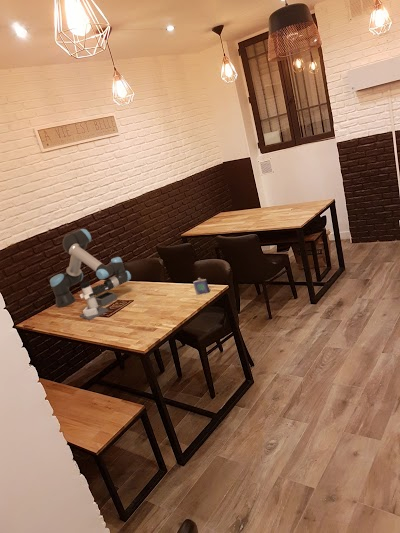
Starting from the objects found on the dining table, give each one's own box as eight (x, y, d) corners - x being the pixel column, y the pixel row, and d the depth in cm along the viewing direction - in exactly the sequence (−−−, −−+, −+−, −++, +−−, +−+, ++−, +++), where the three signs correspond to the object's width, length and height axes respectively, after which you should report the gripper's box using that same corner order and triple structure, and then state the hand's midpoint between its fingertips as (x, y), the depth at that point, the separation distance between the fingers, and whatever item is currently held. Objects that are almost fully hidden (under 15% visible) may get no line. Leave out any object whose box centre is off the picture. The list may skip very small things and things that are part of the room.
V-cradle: (79, 316, 286) (77, 310, 284) (98, 307, 294) (95, 301, 293) (89, 320, 273) (86, 313, 272) (108, 310, 282) (106, 303, 281)
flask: (196, 294, 265) (191, 279, 262) (197, 293, 268) (192, 278, 265) (209, 292, 263) (205, 277, 260) (210, 291, 265) (206, 276, 262)
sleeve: (95, 304, 304) (93, 298, 302) (109, 297, 311) (107, 291, 309) (103, 306, 294) (100, 300, 293) (117, 298, 301) (115, 292, 300)
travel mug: (100, 305, 286) (90, 279, 281) (96, 309, 280) (86, 282, 275) (91, 307, 287) (82, 281, 282) (88, 311, 281) (78, 284, 276)
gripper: (119, 289, 285) (90, 303, 271) (106, 286, 299) (78, 300, 286) (115, 279, 282) (86, 293, 269) (103, 277, 297) (74, 290, 284)
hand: (82, 297), depth 278 cm, fingers closed on travel mug, 6 cm apart
